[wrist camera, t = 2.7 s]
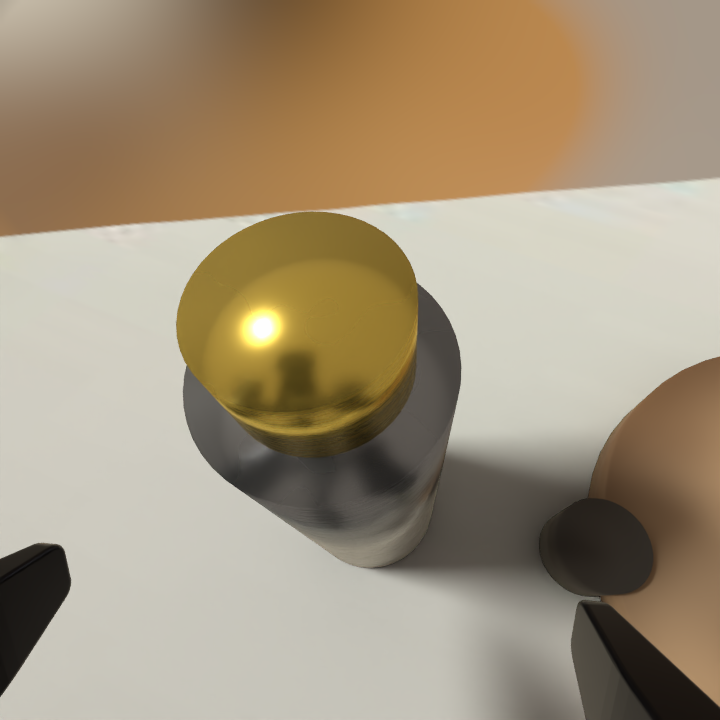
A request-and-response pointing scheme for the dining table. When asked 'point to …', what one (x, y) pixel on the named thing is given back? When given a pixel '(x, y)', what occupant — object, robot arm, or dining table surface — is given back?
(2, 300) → the dining table surface
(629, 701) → the robot arm
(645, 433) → the base plate
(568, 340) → the dining table surface
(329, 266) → the gold-capped silver cylinder
